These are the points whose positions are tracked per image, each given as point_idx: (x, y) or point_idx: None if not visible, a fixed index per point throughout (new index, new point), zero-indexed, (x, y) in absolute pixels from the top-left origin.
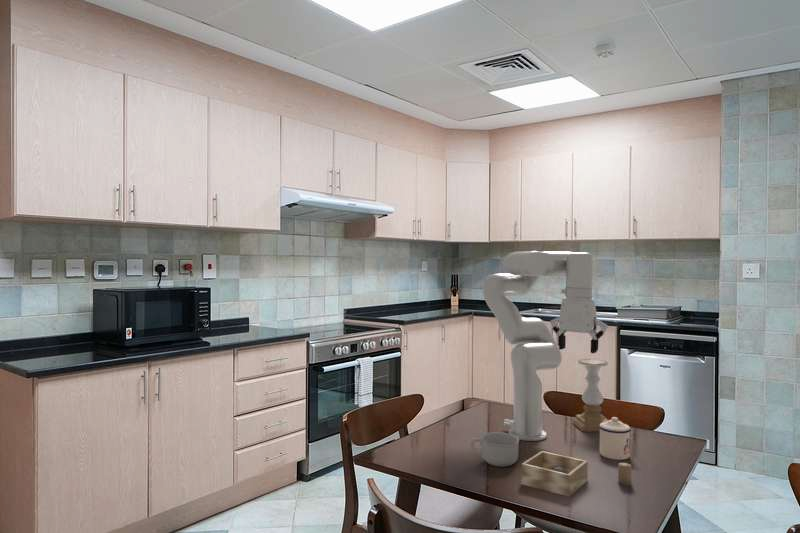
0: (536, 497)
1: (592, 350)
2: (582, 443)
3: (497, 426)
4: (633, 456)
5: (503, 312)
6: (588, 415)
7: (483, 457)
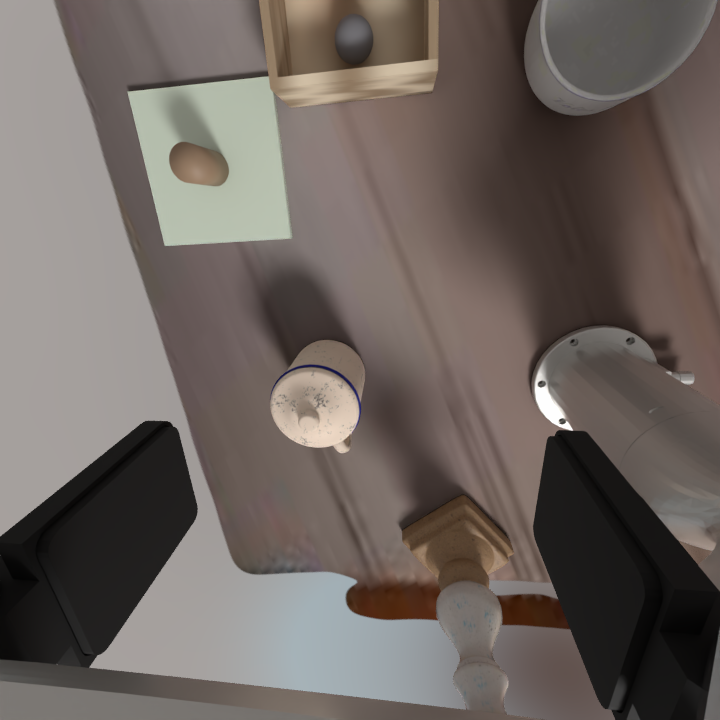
0: None
1: (132, 433)
2: (429, 409)
3: None
4: None
5: None
6: (464, 549)
7: None
